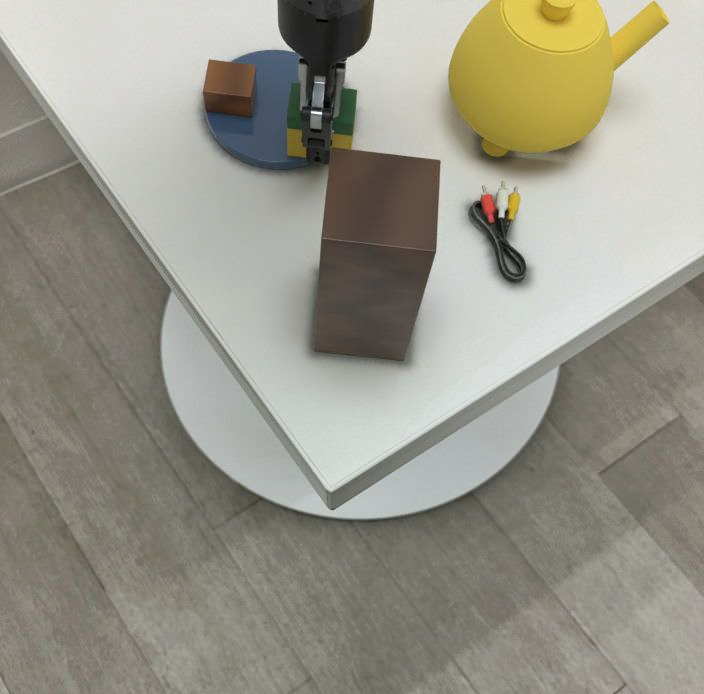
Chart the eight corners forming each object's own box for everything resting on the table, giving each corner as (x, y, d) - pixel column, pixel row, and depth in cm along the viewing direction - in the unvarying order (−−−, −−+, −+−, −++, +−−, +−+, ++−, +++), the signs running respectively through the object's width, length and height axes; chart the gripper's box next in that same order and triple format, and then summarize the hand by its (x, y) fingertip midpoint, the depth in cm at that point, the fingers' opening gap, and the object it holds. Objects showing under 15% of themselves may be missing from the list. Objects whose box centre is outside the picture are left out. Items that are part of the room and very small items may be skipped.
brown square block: (205, 111, 76) (202, 91, 74) (211, 79, 78) (208, 58, 75) (252, 117, 76) (250, 97, 74) (257, 85, 78) (256, 64, 76)
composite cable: (528, 283, 74) (536, 267, 71) (478, 284, 73) (484, 268, 71) (513, 195, 77) (520, 178, 75) (464, 196, 76) (470, 178, 74)
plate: (196, 160, 75) (194, 152, 75) (216, 49, 80) (215, 41, 79) (342, 177, 76) (343, 170, 75) (353, 66, 81) (354, 58, 80)
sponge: (287, 156, 75) (286, 116, 71) (291, 123, 77) (291, 81, 72) (350, 163, 75) (353, 123, 71) (353, 130, 77) (357, 89, 72)
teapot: (602, 43, 85) (658, -85, 72) (654, 159, 80) (724, 43, 67) (423, 65, 82) (448, -65, 69) (465, 187, 77) (502, 72, 64)
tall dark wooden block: (313, 351, 69) (320, 238, 54) (321, 273, 72) (331, 146, 57) (404, 361, 70) (436, 251, 55) (409, 283, 73) (440, 159, 58)
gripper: (287, -96, 62) (289, 80, 78) (265, 40, 57) (272, 198, 73) (382, -84, 62) (364, 89, 78) (369, 52, 57) (353, 207, 74)
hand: (320, 141), depth 76 cm, fingers closed on sponge, 4 cm apart
